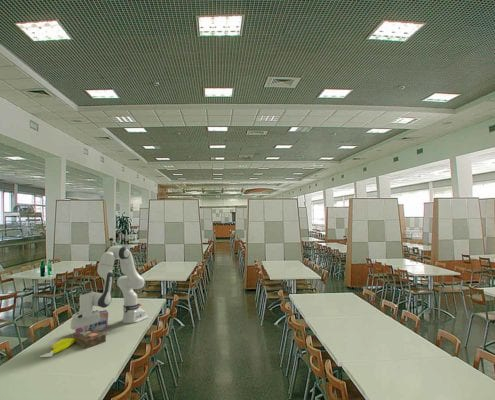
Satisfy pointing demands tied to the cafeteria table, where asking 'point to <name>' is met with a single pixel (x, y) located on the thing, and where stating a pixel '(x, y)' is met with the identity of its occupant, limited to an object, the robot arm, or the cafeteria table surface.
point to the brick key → (92, 335)
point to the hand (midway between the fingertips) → (85, 332)
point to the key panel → (89, 339)
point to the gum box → (97, 326)
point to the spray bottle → (60, 346)
